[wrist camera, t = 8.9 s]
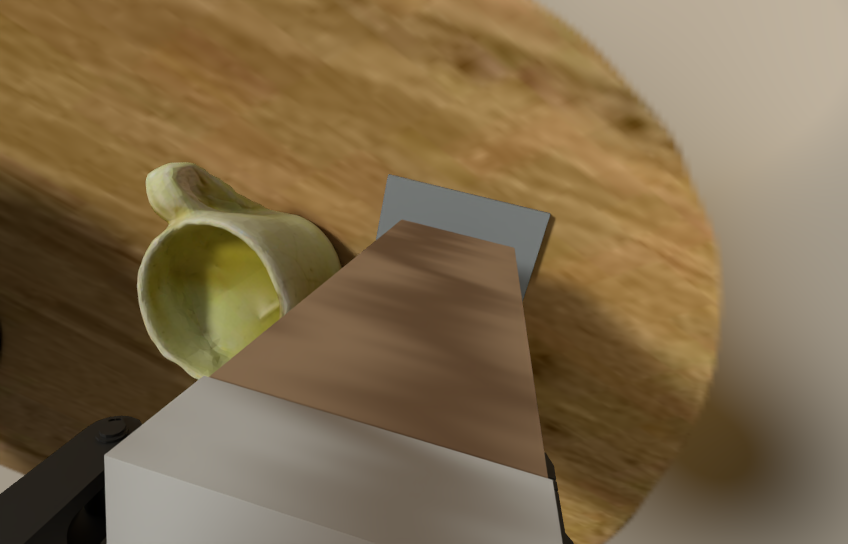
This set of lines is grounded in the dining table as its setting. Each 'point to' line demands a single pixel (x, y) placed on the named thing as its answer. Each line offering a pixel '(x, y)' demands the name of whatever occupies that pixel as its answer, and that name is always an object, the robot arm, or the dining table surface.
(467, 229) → the mat
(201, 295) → the mug
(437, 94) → the dining table surface
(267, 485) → the walnut box
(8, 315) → the dining table surface
